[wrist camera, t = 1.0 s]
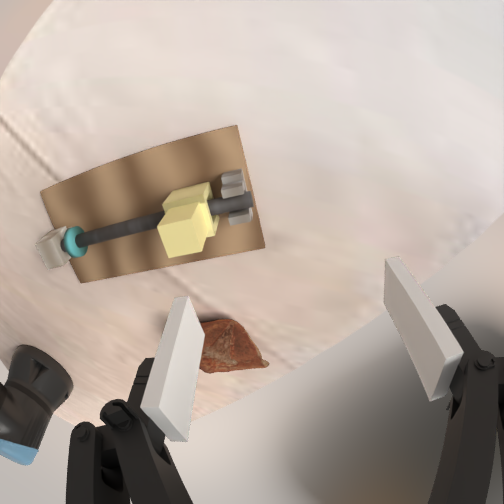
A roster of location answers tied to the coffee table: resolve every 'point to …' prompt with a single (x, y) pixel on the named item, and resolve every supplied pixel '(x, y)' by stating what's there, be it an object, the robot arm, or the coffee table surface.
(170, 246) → the yellow sliding block
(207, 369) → the fossil
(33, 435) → the robot arm
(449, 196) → the coffee table surface
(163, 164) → the brown flat board
